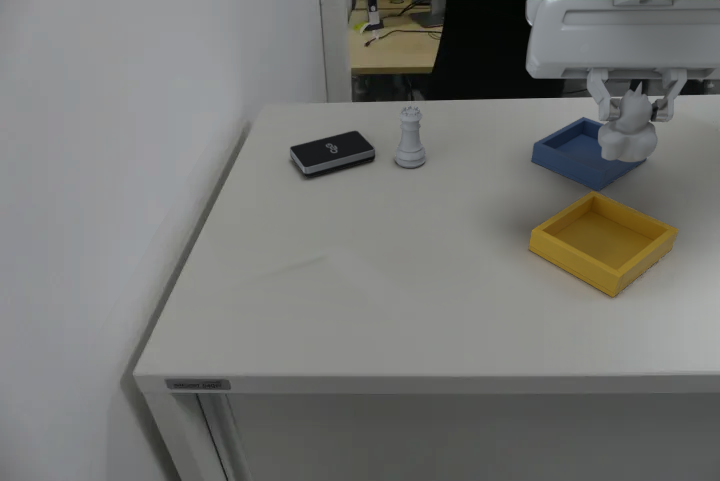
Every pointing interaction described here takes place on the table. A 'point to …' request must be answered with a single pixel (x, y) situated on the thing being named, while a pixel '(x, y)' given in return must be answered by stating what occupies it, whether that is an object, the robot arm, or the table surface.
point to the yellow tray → (602, 242)
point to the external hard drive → (332, 153)
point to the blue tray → (579, 155)
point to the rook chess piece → (410, 139)
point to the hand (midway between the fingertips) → (635, 120)
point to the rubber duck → (629, 130)
